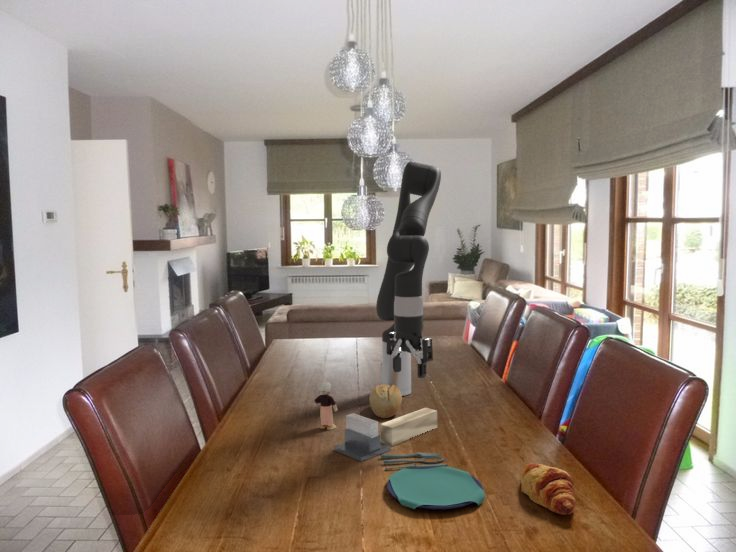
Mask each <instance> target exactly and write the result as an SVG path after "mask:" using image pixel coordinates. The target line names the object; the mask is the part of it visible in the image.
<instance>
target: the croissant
mask: <svg viewBox="0 0 736 552" xmlns="http://www.w3.org/2000/svg"><path fill="white" fill-rule="evenodd" d="M520 482H521V483H520V484H521V485H520V486H521V488H520V489H521V492H522V493H523V494H525V495H526V496H528V497H529V499H530V500H531V501H532V502H533V503H535V504H538V505H539V506H542V507H544V508H546V509H548V510H549V511H551V512H553V513H556V514H558V515H572V513H574V511H575V507H576V503H577V501H576V496H575V495H576V492H575V486H574V480H573V478H572V477H571V475H570V474H569V473H568V472H567V471H566V470H564V469H560V468H558V467H556V466H555V467H552V466H548V465H545V464H541V463H533V462H531V463H527V464H526V465H525V466H523V469H522V471H521V473H520Z"/></svg>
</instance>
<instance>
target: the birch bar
mask: <svg viewBox="0 0 736 552" xmlns="http://www.w3.org/2000/svg"><path fill="white" fill-rule="evenodd" d="M379 427H380V442H382V443H384V444H387V445H390V446H391V447H393V446H395V445H398V444H401V443H403V441H404V442H406V441H408V440H411V439H413V438H415V436H416V437H418V436H420V434H421V435H423V434H425V432H426V433H427V431H428V432H430V431H433V430H435V429H437V428H438V410H436V409H432V408H429V407H423V408H421V409H418V410H416V411H412V412H409V413H406V414H404V415H401V416H398V417H396V418H393V419H391V420H388V421H385V422H382V423H380V426H379ZM432 429H433V430H432ZM422 433H423V434H422ZM417 435H418V436H417ZM412 437H413V438H412ZM410 438H411V439H410Z"/></svg>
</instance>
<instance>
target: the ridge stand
mask: <svg viewBox="0 0 736 552" xmlns="http://www.w3.org/2000/svg"><path fill="white" fill-rule="evenodd" d="M345 423H346V425H345V427H346V428H345V429H344V442H341V443H339V444H336V445H333V451H334V452H338V453H340V454H342V455H345V456H346V457H349V458H351V459H354V460H356V461H359V462H364V461H366V460H369V459H371V458H374V457H376V456H379V455H382V454H384V453H387V452H389V451H391V450H392V446H390V445H388V444H385V443H382V442H381V434H379V421H378V420H374V419H371V418H368V417H365V416H363V415H360V414H357V413H355V412H353V413H350V414H346V415H345Z"/></svg>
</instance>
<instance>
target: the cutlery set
mask: <svg viewBox="0 0 736 552" xmlns="http://www.w3.org/2000/svg"><path fill="white" fill-rule="evenodd" d="M406 457H407V458H412V457H416V458H419V457H420V458H419V460H417V459H405V458H406ZM429 459H430V460H431V459H432V460H433V459H435V461H425V460H429ZM380 460H382V461H383V464H384V465H387V464H397V463H399V464H400V463H410V464H406V465H403V466H394V467H393V466H390V467H389V466H388V467H387V466H385V471H386V472H387V470H395V469H399V470H398V471H396V472H393V473H392V474H390V475H389V476H388V480H387V482H386V487H387V492H389V494H390V495H391V496H392V498H394V499H396V500H398V502H399V503H400V505H402V506H403V507H407V508H409V509H412V510H416V508H421V509H429V510H451V509H457V508H463V507H465V506H468V505H470V504H473V503H476V504H477V506H480V505H481V504H482V503H483V502H484V501H485V498H486V493H485V490H484V487H483V484H482V482H481V481H480V480H478V479H477V478H476V477H475V476H473V475H471V473H470V472H468V471H465V470H462V469H457V468H454V467H450V466H448V463H440V462H443V461H445V457H442V456H441V454H440V453H439V452H436V453H435V452H434V453H433V452H432V453H431V452H421V451H419V452H417V451H416V452H415V453H409V454H384V453H382V454H380ZM436 460H438V461H436ZM411 463H414V464H411ZM416 463H425V464H422V465H421V464H420V465H419V464H416Z"/></svg>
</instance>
